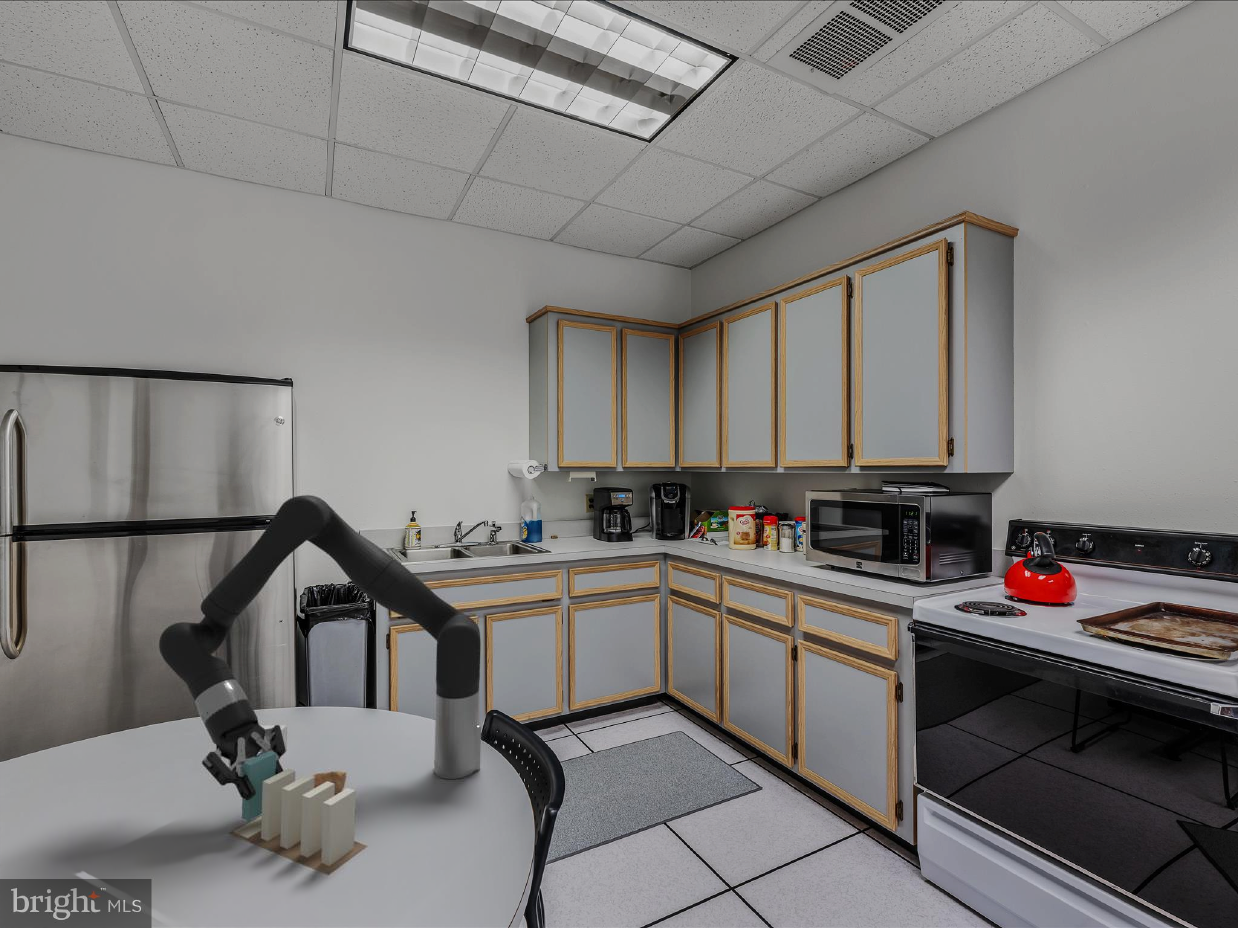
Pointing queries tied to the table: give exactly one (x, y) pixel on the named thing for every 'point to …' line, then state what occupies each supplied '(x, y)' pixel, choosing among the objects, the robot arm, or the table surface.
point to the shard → (331, 780)
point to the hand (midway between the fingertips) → (266, 789)
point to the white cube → (284, 734)
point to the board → (253, 835)
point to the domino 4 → (338, 826)
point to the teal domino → (257, 782)
